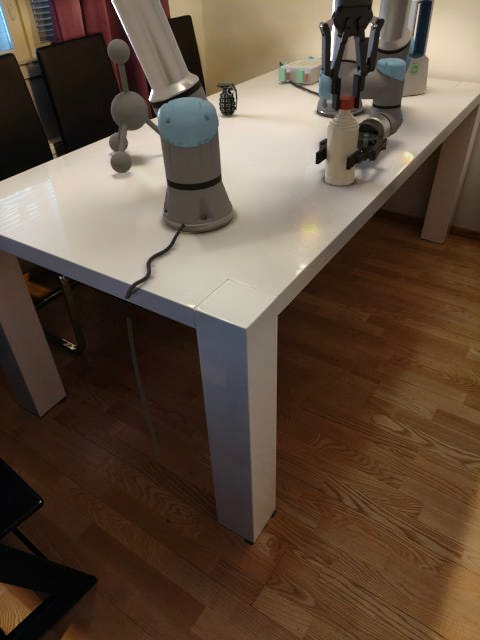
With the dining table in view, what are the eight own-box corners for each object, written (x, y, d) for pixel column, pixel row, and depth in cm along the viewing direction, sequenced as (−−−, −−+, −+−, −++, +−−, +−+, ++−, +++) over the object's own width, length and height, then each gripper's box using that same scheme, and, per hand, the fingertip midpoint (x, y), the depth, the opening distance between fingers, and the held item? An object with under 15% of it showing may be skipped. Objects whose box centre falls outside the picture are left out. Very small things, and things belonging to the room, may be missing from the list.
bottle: (357, 176, 121) (366, 96, 110) (348, 187, 116) (356, 105, 105) (330, 172, 124) (336, 94, 113) (320, 183, 119) (324, 102, 108)
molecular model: (195, 164, 133) (181, 39, 115) (114, 179, 127) (87, 50, 109) (172, 140, 150) (157, 28, 132) (101, 152, 145) (75, 37, 126)
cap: (349, 104, 112) (350, 94, 110) (357, 108, 109) (358, 98, 107) (333, 106, 111) (334, 96, 110) (340, 110, 108) (341, 100, 107)
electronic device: (395, 97, 177) (408, -1, 159) (385, 92, 183) (397, -3, 164) (425, 93, 179) (442, -4, 161) (414, 89, 185) (429, -6, 167)
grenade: (217, 117, 168) (214, 86, 162) (221, 112, 172) (219, 82, 166) (235, 117, 166) (233, 86, 160) (239, 113, 171) (238, 82, 165)
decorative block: (301, 54, 217) (341, 57, 207) (300, 70, 221) (340, 74, 211) (269, 65, 201) (312, 69, 191) (269, 82, 205) (311, 87, 195)
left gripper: (319, -14, 92) (314, 116, 106) (404, -20, 94) (387, 108, 108) (307, -16, 97) (304, 107, 112) (387, -22, 99) (373, 100, 114)
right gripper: (405, 153, 125) (371, 184, 111) (334, 142, 135) (294, 169, 120) (410, 123, 121) (375, 151, 106) (336, 113, 130) (294, 138, 116)
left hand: (345, 107), depth 110 cm, fingers closed on cap, 4 cm apart
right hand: (332, 161), depth 113 cm, fingers closed on bottle, 7 cm apart
